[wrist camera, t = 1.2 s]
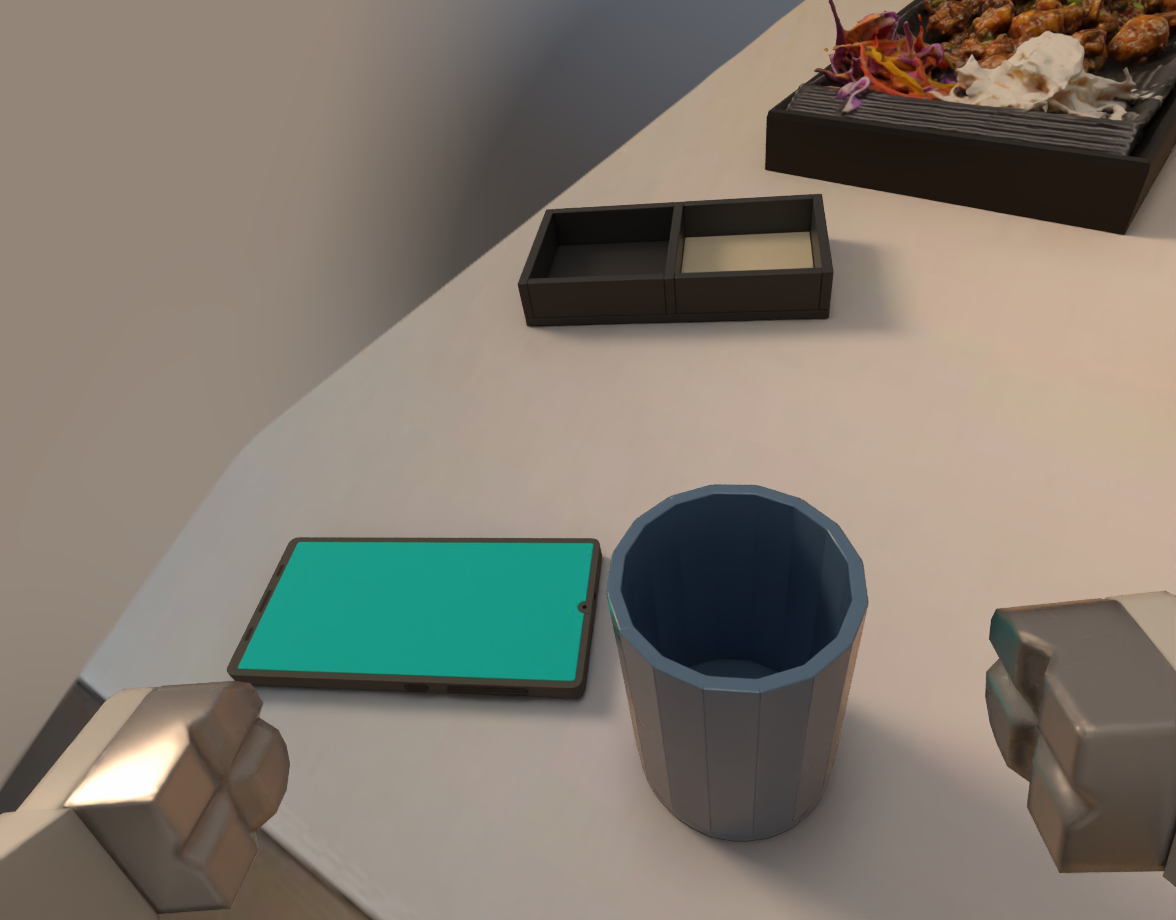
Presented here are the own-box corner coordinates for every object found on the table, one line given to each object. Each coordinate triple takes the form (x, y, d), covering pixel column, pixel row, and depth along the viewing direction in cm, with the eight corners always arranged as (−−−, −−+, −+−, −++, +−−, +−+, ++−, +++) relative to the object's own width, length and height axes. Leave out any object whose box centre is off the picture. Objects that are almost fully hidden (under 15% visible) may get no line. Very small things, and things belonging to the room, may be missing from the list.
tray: (526, 326, 48) (517, 284, 46) (553, 249, 55) (545, 209, 53) (828, 318, 45) (833, 272, 42) (818, 237, 51) (821, 193, 49)
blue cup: (629, 830, 26) (591, 682, 19) (648, 653, 30) (622, 482, 23) (839, 852, 24) (881, 702, 17) (824, 663, 29) (853, 486, 22)
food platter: (1124, 234, 47) (1195, 53, 39) (765, 169, 59) (769, 23, 52) (1252, 8, 69) (1312, -134, 62) (972, -4, 82) (995, -123, 75)
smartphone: (291, 537, 36) (600, 538, 34) (298, 548, 37) (602, 549, 34) (222, 676, 31) (580, 690, 29) (231, 686, 32) (583, 701, 29)
